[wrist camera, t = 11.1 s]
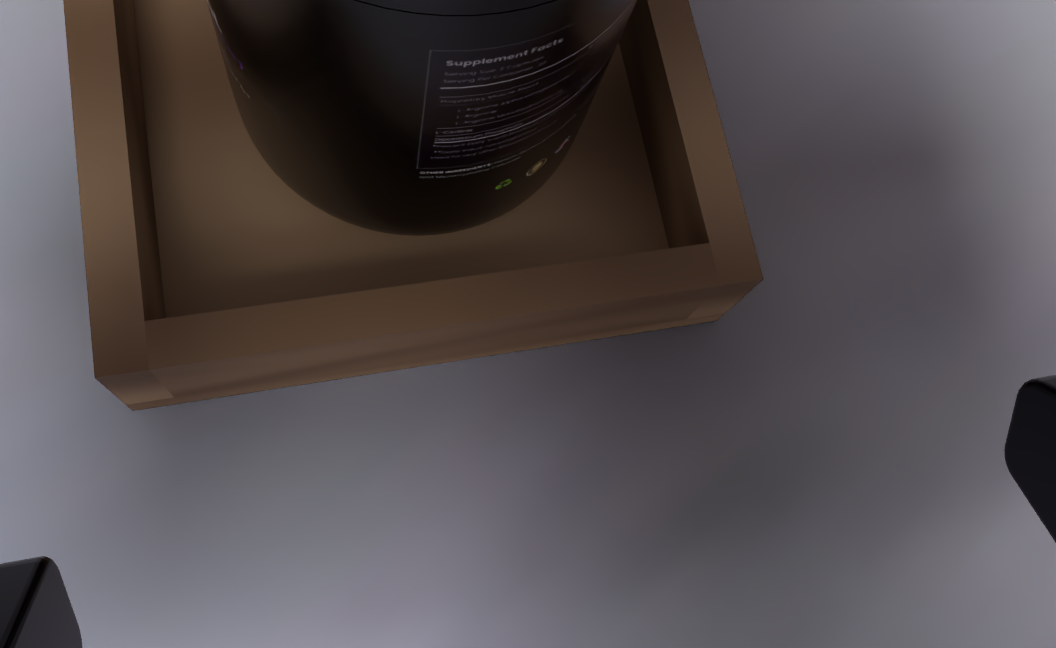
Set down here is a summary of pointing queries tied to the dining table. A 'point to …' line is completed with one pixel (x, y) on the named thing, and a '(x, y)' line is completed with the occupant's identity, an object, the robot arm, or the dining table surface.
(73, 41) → the walnut holder
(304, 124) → the supplement bottle
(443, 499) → the dining table surface
